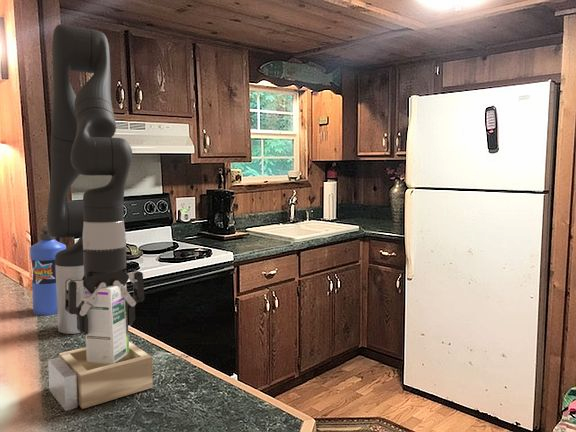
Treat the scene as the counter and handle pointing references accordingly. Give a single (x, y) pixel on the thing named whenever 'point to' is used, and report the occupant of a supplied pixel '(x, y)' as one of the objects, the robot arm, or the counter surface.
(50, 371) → the backstop wall
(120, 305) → the syrup box
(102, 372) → the open wooden box
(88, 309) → the robot arm
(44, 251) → the water bottle
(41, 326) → the counter surface
